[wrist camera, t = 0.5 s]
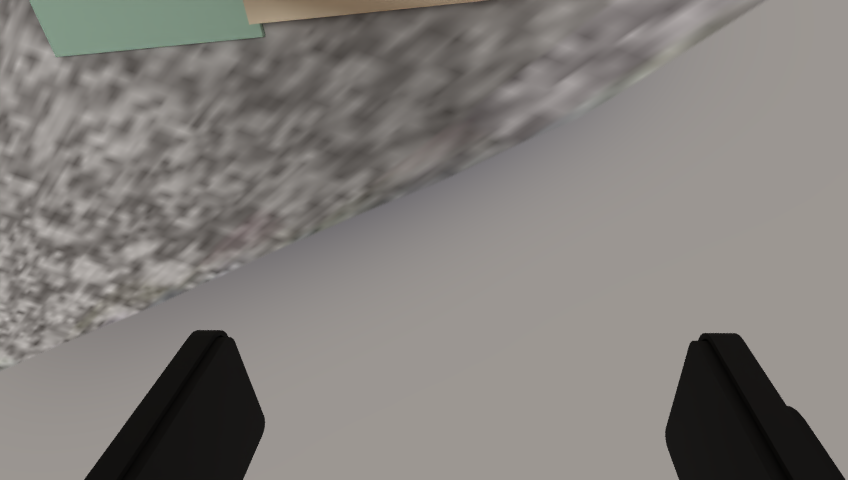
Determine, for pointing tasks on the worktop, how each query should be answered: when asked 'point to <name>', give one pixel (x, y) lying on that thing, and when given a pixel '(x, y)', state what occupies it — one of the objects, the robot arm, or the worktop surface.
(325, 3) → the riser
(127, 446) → the robot arm
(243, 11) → the mat
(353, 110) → the worktop surface
